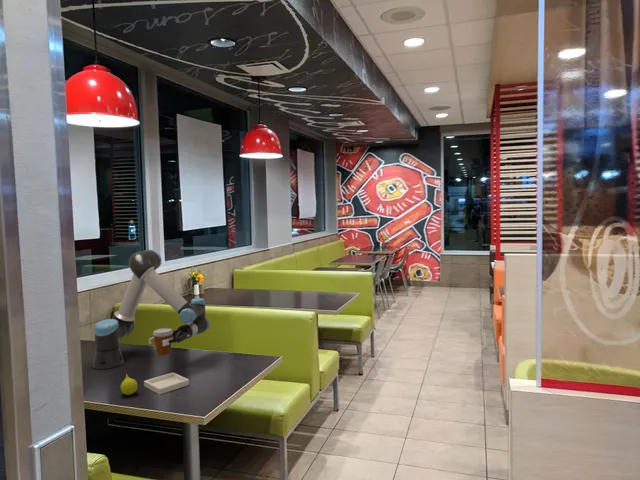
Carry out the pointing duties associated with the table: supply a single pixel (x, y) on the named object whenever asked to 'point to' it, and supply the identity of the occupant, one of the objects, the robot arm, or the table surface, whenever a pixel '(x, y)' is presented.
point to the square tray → (166, 383)
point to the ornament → (128, 386)
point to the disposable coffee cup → (159, 337)
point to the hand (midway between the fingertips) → (156, 342)
